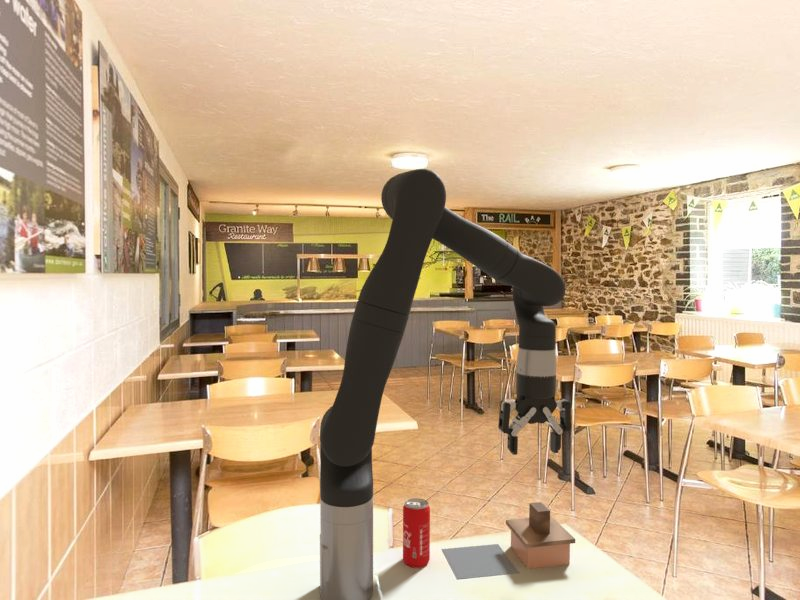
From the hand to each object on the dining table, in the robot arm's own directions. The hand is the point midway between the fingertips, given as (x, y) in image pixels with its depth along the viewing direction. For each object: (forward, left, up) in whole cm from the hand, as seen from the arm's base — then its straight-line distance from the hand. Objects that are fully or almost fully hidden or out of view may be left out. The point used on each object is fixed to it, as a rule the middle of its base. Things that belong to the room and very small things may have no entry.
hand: (534, 452), depth 108 cm
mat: (-11, -1, -21) cm, 24 cm away
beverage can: (-23, +1, -21) cm, 32 cm away
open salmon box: (+1, -1, -21) cm, 21 cm away
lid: (+1, -1, -16) cm, 16 cm away
